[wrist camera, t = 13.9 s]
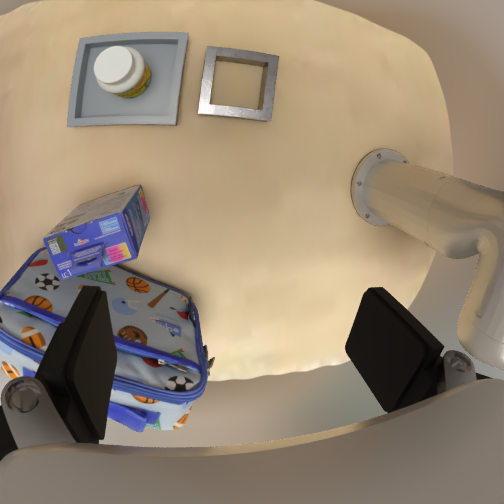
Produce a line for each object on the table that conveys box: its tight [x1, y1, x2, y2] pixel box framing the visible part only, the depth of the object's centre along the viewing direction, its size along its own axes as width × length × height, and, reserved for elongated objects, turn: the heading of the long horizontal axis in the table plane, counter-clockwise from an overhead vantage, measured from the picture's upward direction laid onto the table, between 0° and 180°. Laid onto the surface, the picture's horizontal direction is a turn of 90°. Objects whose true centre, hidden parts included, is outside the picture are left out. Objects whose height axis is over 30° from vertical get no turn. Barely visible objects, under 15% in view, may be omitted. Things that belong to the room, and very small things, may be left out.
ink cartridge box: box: [43, 185, 149, 280], centre depth 30 cm, size 10×6×14 cm, turn 101°
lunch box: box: [0, 247, 215, 432], centre depth 31 cm, size 28×10×22 cm, turn 64°
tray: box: [67, 32, 188, 127], centre depth 28 cm, size 14×12×3 cm
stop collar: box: [198, 46, 279, 122], centre depth 32 cm, size 9×9×2 cm
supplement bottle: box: [94, 46, 152, 99], centre depth 25 cm, size 5×5×10 cm
